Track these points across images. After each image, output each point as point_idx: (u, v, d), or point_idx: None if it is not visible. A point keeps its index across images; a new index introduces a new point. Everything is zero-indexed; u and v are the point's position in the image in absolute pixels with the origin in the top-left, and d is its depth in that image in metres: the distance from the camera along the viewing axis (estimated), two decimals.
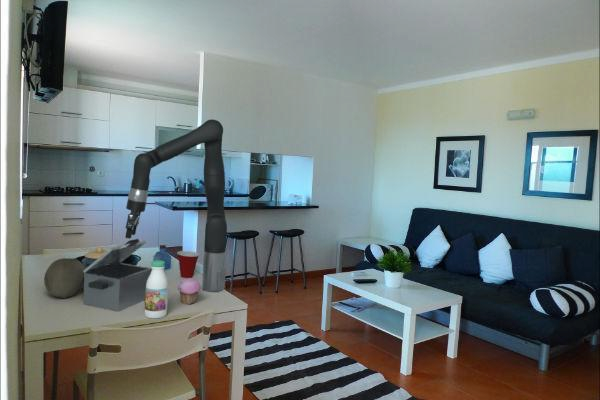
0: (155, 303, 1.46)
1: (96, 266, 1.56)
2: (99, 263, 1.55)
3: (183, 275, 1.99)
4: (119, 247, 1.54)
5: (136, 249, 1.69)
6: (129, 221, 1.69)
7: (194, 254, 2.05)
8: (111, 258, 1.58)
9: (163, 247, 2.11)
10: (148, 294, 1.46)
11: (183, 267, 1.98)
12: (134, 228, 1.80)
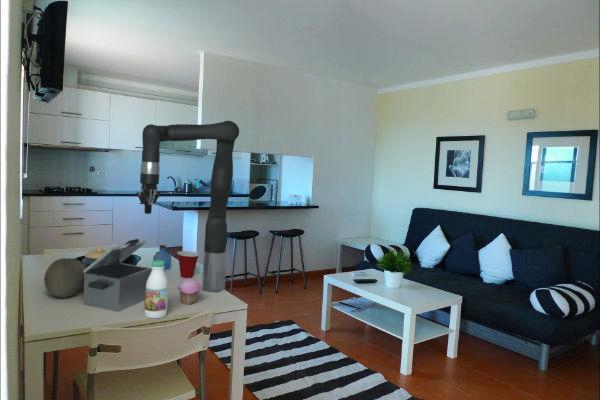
0: (155, 303, 1.46)
1: (96, 266, 1.56)
2: (99, 263, 1.55)
3: (183, 275, 1.99)
4: (119, 247, 1.54)
5: (136, 249, 1.69)
6: (140, 198, 1.70)
7: (194, 254, 2.05)
8: (111, 258, 1.58)
9: (163, 247, 2.11)
10: (148, 294, 1.46)
11: (183, 267, 1.98)
12: None
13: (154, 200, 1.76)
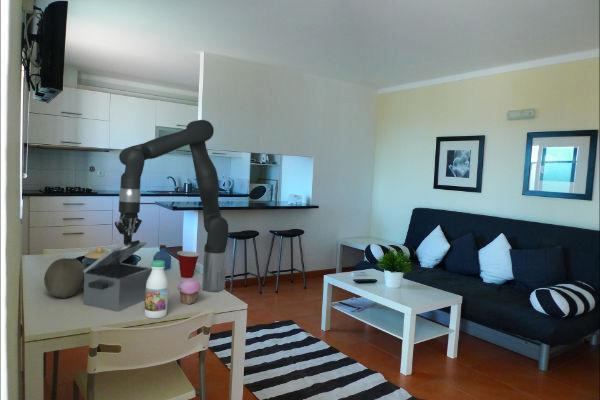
0: (155, 303, 1.46)
1: (96, 266, 1.56)
2: (99, 263, 1.55)
3: (183, 275, 1.99)
4: (120, 248, 1.54)
5: (136, 250, 1.69)
6: (119, 229, 1.54)
7: (194, 254, 2.05)
8: (111, 259, 1.58)
9: (163, 247, 2.11)
10: (148, 294, 1.46)
11: (183, 267, 1.98)
12: None
13: (134, 230, 1.61)
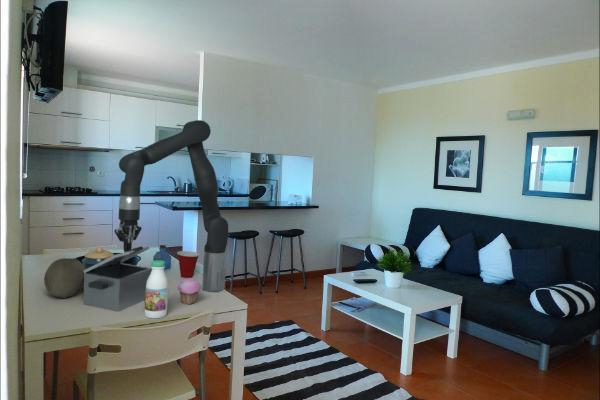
0: (155, 303, 1.46)
1: (97, 268, 1.56)
2: (100, 266, 1.55)
3: (183, 275, 1.99)
4: (123, 254, 1.53)
5: (138, 253, 1.68)
6: (119, 236, 1.55)
7: (194, 254, 2.05)
8: (113, 261, 1.58)
9: (163, 247, 2.11)
10: (148, 294, 1.46)
11: (183, 267, 1.98)
12: None
13: (134, 237, 1.61)
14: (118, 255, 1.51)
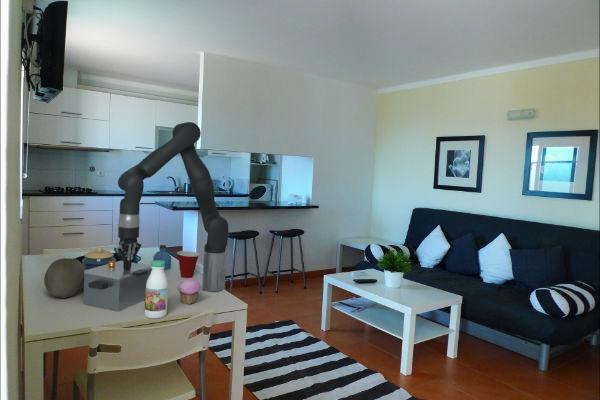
0: (155, 303, 1.46)
1: None
2: None
3: (183, 275, 1.99)
4: (127, 275, 1.53)
5: None
6: (118, 254, 1.55)
7: (194, 254, 2.05)
8: None
9: (163, 247, 2.11)
10: (148, 294, 1.46)
11: (183, 267, 1.98)
12: None
13: (134, 254, 1.61)
14: (122, 277, 1.51)
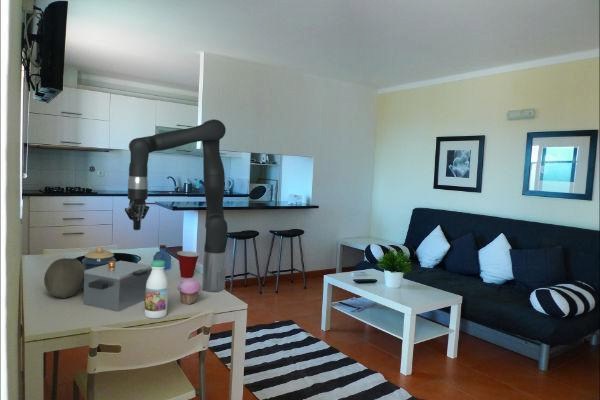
0: (155, 303, 1.46)
1: None
2: None
3: (183, 275, 1.99)
4: (127, 275, 1.53)
5: None
6: (129, 215, 1.63)
7: (194, 254, 2.05)
8: None
9: (163, 247, 2.11)
10: (148, 294, 1.46)
11: (183, 267, 1.98)
12: None
13: (143, 215, 1.70)
14: (122, 277, 1.51)
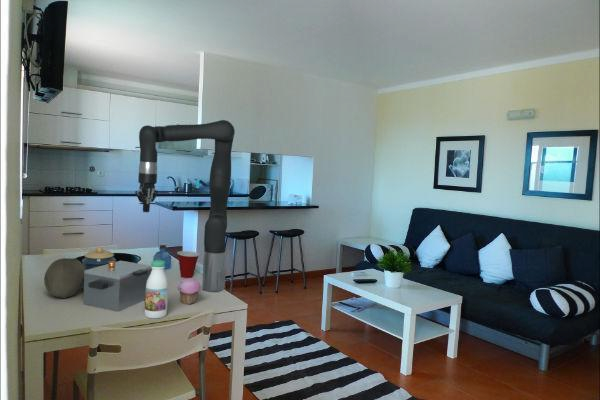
0: (155, 303, 1.46)
1: None
2: None
3: (183, 275, 1.99)
4: (127, 275, 1.53)
5: None
6: (139, 197, 1.75)
7: (194, 254, 2.05)
8: None
9: (163, 247, 2.11)
10: (148, 294, 1.46)
11: (183, 267, 1.98)
12: None
13: (152, 199, 1.81)
14: (122, 277, 1.51)
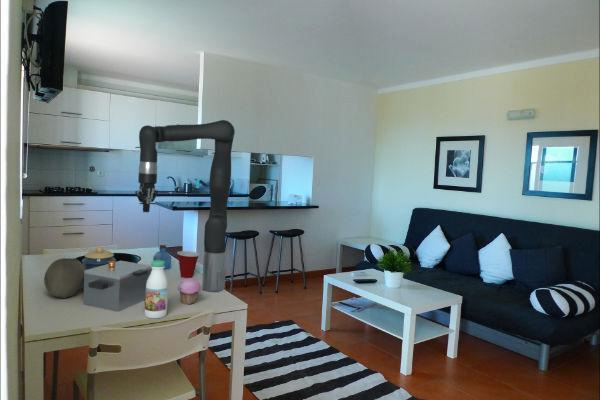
0: (155, 303, 1.46)
1: None
2: None
3: (183, 275, 1.99)
4: (127, 275, 1.53)
5: None
6: (139, 197, 1.75)
7: (194, 254, 2.05)
8: None
9: (163, 247, 2.11)
10: (148, 294, 1.46)
11: (183, 267, 1.98)
12: None
13: (152, 199, 1.81)
14: (122, 277, 1.51)
